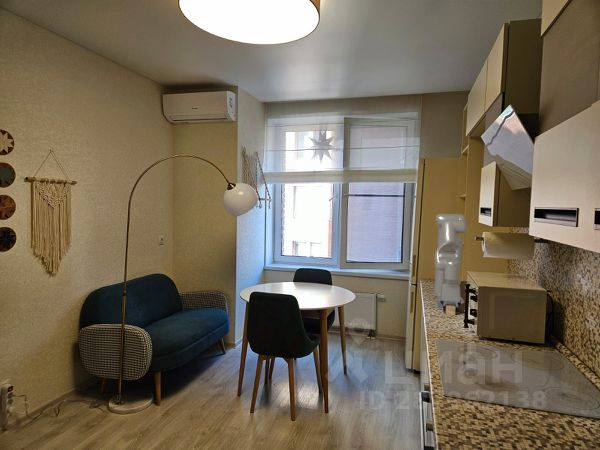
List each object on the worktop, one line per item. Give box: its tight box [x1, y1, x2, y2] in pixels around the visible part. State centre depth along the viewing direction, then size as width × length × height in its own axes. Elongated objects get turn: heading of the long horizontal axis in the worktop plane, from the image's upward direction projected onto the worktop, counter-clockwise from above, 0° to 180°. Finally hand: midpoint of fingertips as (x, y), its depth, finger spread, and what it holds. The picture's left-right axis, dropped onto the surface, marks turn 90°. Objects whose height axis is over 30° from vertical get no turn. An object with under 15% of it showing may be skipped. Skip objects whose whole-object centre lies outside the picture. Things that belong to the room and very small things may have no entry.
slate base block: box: [436, 298, 459, 311], centre depth 230 cm, size 12×12×4 cm
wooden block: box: [458, 280, 468, 313], centre depth 218 cm, size 9×4×18 cm, turn 75°
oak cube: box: [445, 304, 456, 316], centre depth 214 cm, size 5×5×5 cm
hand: (450, 312), depth 214 cm, fingers closed on oak cube, 5 cm apart
